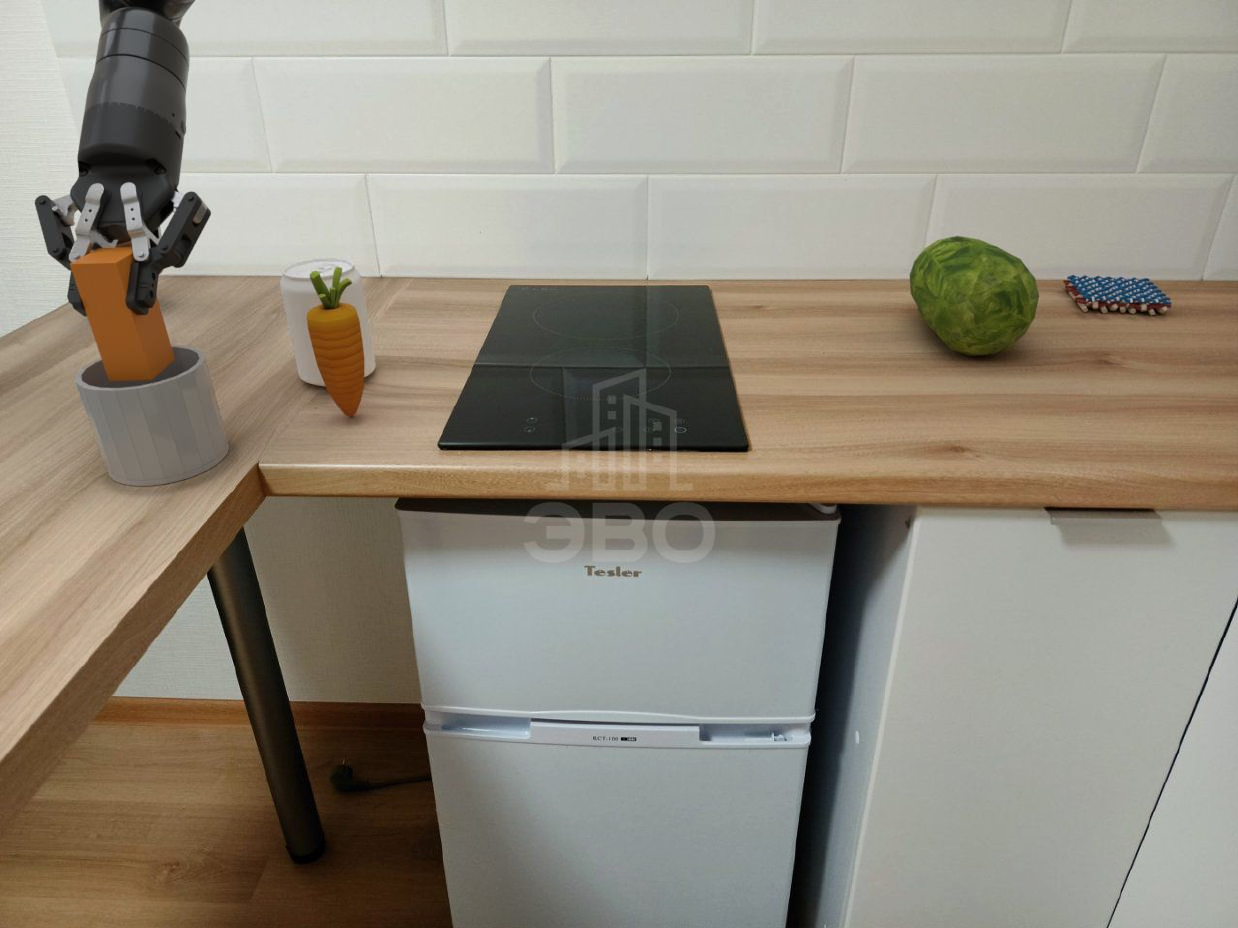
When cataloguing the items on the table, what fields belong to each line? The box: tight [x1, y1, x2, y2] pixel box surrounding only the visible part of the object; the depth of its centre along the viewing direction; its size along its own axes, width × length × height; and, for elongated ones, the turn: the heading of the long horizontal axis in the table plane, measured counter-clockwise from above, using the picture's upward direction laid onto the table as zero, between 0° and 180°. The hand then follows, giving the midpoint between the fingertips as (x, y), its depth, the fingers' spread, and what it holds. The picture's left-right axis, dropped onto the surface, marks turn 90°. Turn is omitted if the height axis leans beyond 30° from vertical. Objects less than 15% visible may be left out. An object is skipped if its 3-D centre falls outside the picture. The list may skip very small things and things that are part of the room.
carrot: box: [307, 267, 365, 418], centre depth 81 cm, size 5×5×15 cm
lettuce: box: [909, 235, 1040, 357], centre depth 99 cm, size 12×21×11 cm, turn 2°
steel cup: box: [74, 344, 230, 487], centre depth 76 cm, size 10×10×9 cm
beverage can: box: [279, 257, 377, 388], centre depth 91 cm, size 8×8×12 cm
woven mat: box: [1062, 274, 1172, 316], centre depth 111 cm, size 10×11×2 cm
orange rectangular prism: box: [70, 247, 175, 381], centre depth 71 cm, size 4×5×10 cm
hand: (110, 310), depth 69 cm, fingers closed on orange rectangular prism, 3 cm apart
